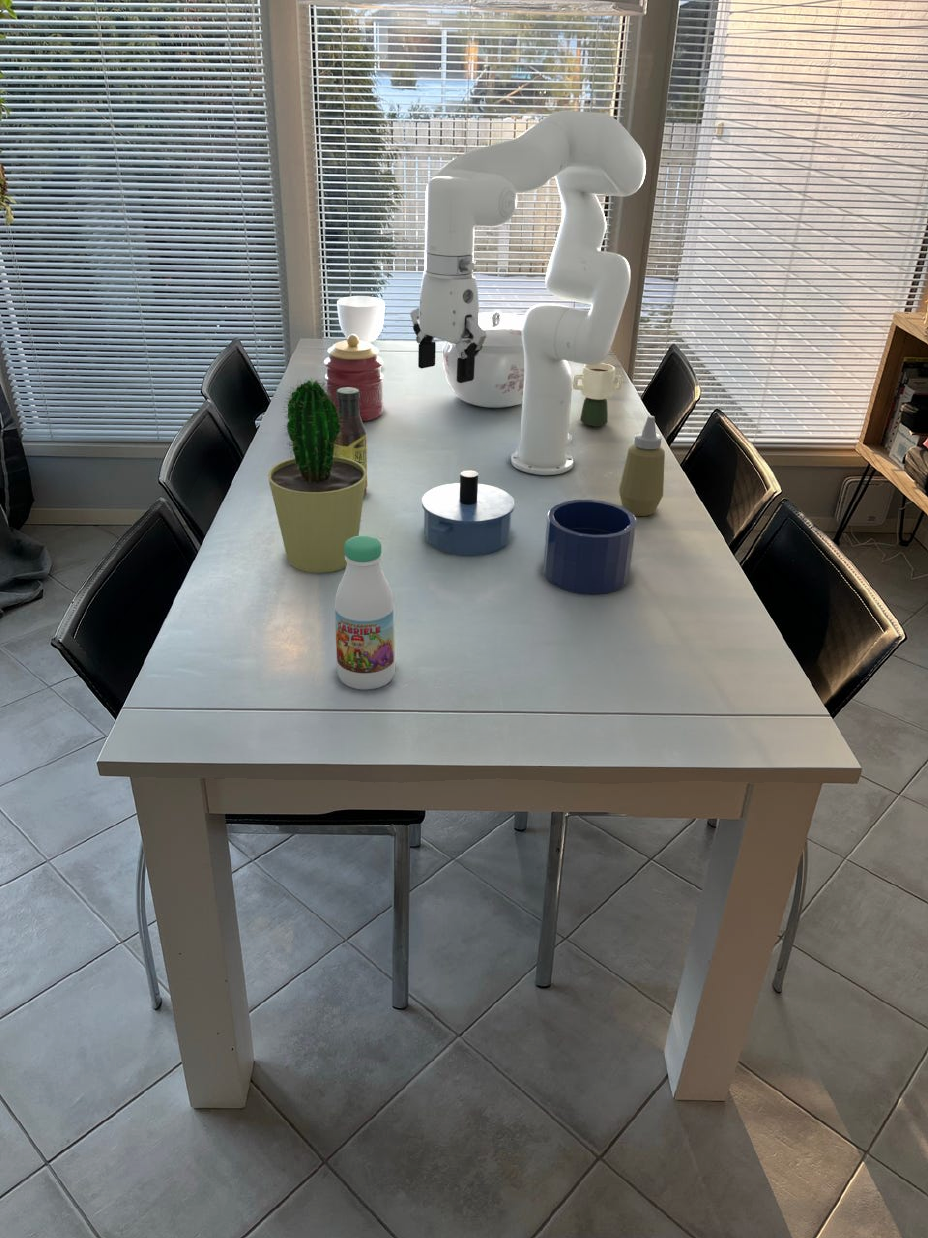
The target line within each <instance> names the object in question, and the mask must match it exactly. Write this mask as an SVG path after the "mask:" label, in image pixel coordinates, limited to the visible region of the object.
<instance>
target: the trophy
mask: <svg viewBox="0 0 928 1238" xmlns="http://www.w3.org/2000/svg"><path fill="white" fill-rule="evenodd" d="M579 380H581V385H579ZM615 380H617V384H616V385H615ZM622 385H623V375H622V374H616V367H615V366H613V365H612V364H609V363H604V362H601V363H600V364H597V365H586V364H583V366H582V374H576V375H574V377H573V386H572V390H575V391H580V392H581V395H582V396H583V397H585V398H584V400H583V403H582V408H581V412H580V418H579V421H580V423H583V424H585V425H587V426H592V427H603V426H605V425H606V424H608V421H609V420H608V419H609V413H608V412H609V410H608V400H607V399H610V398H611V397H612V396H613V393H614V390H615V391H617V390H618V391H619V390H621V389H622Z"/></svg>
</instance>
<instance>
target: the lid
mask: <svg viewBox="0 0 928 1238" xmlns="http://www.w3.org/2000/svg"><path fill="white" fill-rule="evenodd" d="M515 504H516V503H515V499H514V497H513V496H512V495H511V494H509V492H507V491H505V490H503V489H501V488H500V487H496V486H493V485H490V484H489V485H488V484H484V483H479V473H478V472H477V471H475V470H470V469H469V470H468V469H467V470H463V471H461V472H460V473H459V482H453V483H447V484H442V485H439V486H435V487H433V488H432V489H431V488H430V489H429V490H428V491H427V492H425V493H424V494H423V496H422V497H421V506H422V508H423V510H425V511H426V512H427V513H428V514H429V515H431V516H433V517H435V518H437V519H440V520H443V521H447V522H451V523H457V524H485V523H491V522H495V521H498V520H501V519H504V518H506V517H507V516H509V515H510V514H511V515H512V513H513V512H514V510H515Z"/></svg>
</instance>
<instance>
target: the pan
mask: <svg viewBox="0 0 928 1238" xmlns="http://www.w3.org/2000/svg"><path fill="white" fill-rule="evenodd" d="M423 510H424V509H423ZM423 515H424V517H423V518H424V519H423V521H424V522H423V523H424V525H423V527H424V529H423V533H424V537H425V541H426V542H427V543H428V544H429V545H430V546H431V547H433V548H435V549H436V550H439V551H441V552H443V553H448V554H452V555H457V556H481V555H488V554H491V553H494V552H497V551H500V550H502V549H503V548H504V547H506V546H507V544H508V543H509V541H510V535H511V523H512V522H511V521H512V513H511V514H510V515H509V516H507V517H506V518H504V519H501V520H498V521H495V522H491V523H485V524H457V523H451V522H447V521H443V520H440V519H437V518H435V517H433V516H431V515H429V514H428V513H427V512H426V511H425V510H424V513H423Z"/></svg>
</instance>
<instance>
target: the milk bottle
mask: <svg viewBox="0 0 928 1238" xmlns="http://www.w3.org/2000/svg"><path fill="white" fill-rule="evenodd" d="M382 548H383V547H382V543H381V540H380V539H378V538H376V537H374V536H372V535H359V536H355V537H352V538H350V539H348V540H347V541H346V542H345V546H344V550H345V560H346V561H347V566H346V567H345V570H344V574H343V576H342V578H341V580H340V582H339V584H338V587H337V589H336V594H335V598H334V599H335V600H334V601H335V602H334V624H335V646H336V647H335V648H336V649H335V650H336V668H337V676H338V678H339V680H340V681H341V682H342V683H343V684H344V685H345V686H347V687H348V688H349V687H350V688H351V689H354V690H364V691H365V690H375V689H378V688H382V687H383V686H386V685H387V684H388V683H390V682H391V681H392V680H393V678H394V676H395V672H396V640H395V639H396V632H395V631H396V629H395V601H394V596H393V591H392V589H391V585H390V584H389V582H388V580H387V578H386V576H385V574H384V572H383V569H382V566H381V562H380V561H382V559H383V558H382V550H383V549H382Z"/></svg>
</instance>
